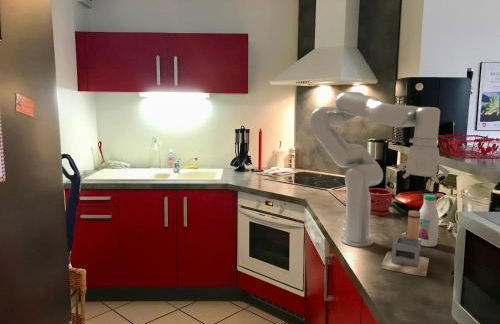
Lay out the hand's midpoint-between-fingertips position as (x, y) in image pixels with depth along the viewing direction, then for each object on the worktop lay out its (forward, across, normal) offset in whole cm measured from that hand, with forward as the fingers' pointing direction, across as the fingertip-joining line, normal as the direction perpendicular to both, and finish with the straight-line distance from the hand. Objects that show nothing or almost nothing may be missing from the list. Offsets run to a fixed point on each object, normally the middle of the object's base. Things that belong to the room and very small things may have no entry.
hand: (420, 191), depth 142 cm
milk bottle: (+26, -1, +20) cm, 33 cm away
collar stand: (+25, 0, -8) cm, 26 cm away
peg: (+25, -2, +5) cm, 26 cm away
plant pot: (+27, -34, +52) cm, 68 cm away
